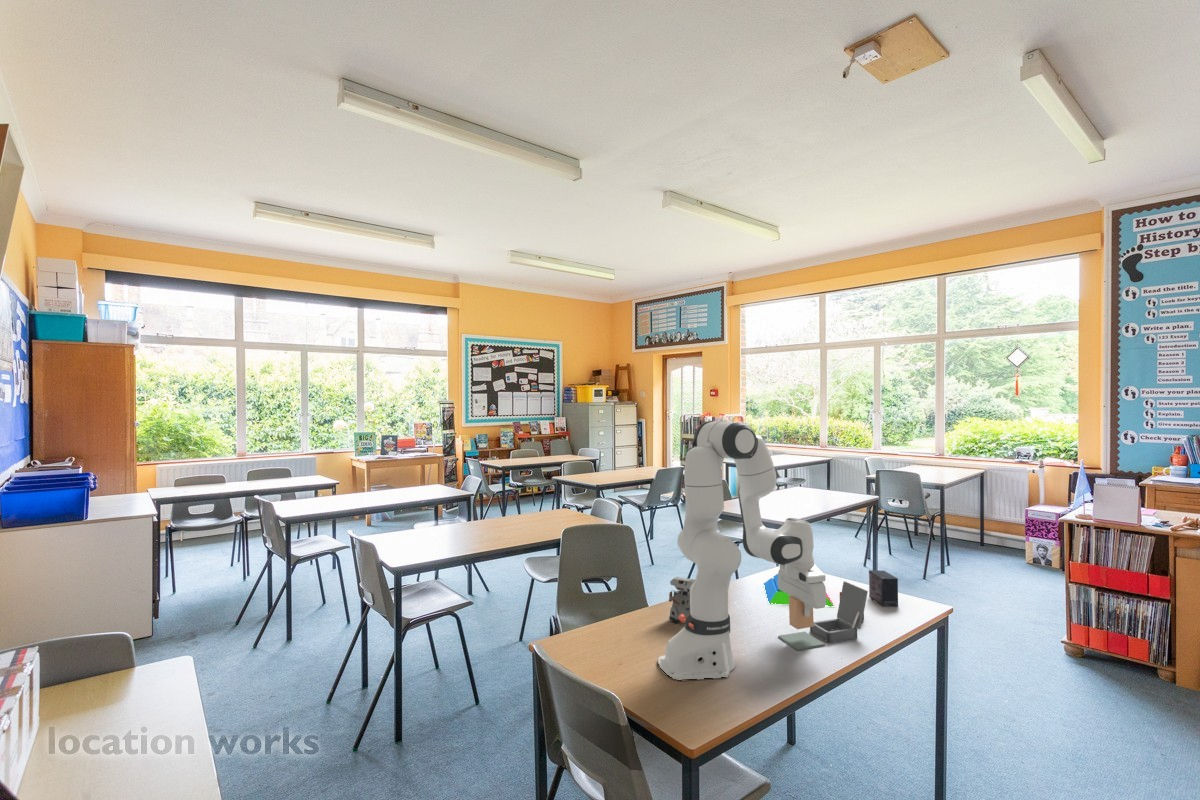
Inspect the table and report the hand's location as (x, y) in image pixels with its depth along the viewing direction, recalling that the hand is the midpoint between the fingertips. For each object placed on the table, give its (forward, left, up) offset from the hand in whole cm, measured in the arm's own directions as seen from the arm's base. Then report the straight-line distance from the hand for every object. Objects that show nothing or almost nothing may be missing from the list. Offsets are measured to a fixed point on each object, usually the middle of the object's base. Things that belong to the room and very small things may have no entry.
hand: (801, 612), depth 176 cm
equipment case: (+15, +1, -9) cm, 17 cm away
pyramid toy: (+25, +37, -10) cm, 46 cm away
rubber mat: (0, 0, -9) cm, 9 cm away
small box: (+51, +20, -9) cm, 55 cm away
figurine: (-27, +27, -9) cm, 39 cm away
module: (0, 0, -4) cm, 4 cm away
